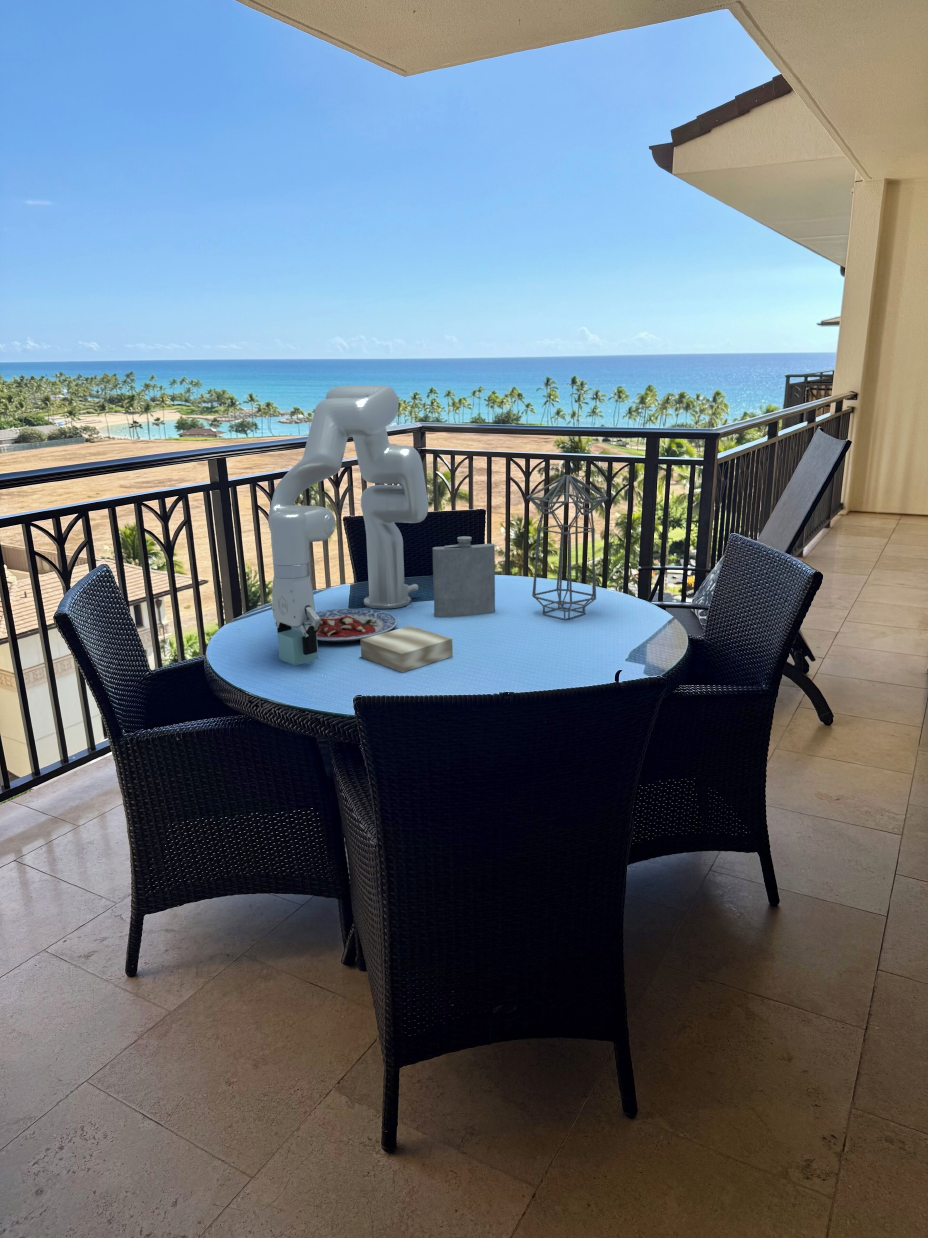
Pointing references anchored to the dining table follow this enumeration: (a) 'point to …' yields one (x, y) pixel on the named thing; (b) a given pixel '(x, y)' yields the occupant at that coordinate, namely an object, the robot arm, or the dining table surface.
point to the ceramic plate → (352, 624)
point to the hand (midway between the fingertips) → (297, 648)
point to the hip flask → (464, 579)
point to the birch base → (406, 648)
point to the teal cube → (293, 647)
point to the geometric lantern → (577, 489)
